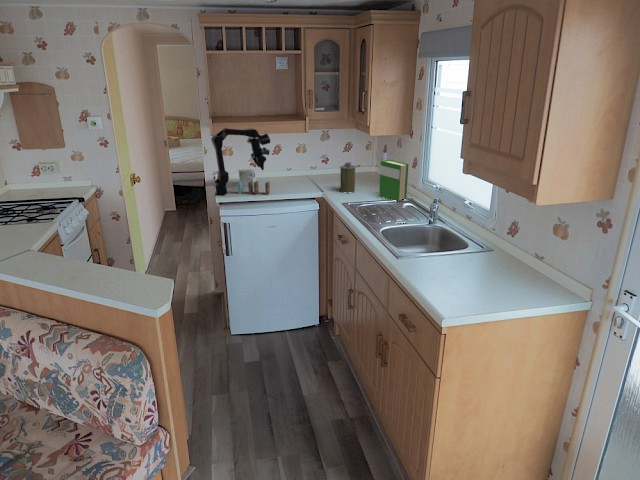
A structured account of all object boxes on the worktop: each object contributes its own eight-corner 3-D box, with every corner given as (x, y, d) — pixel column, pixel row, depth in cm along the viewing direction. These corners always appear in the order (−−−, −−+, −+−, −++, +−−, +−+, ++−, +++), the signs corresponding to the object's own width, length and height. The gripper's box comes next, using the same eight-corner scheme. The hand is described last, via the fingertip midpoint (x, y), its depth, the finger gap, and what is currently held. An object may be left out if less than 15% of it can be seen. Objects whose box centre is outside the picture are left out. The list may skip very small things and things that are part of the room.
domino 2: (254, 194, 315) (253, 183, 312) (256, 192, 320) (255, 181, 317) (256, 194, 315) (256, 183, 312) (258, 192, 320) (258, 181, 317)
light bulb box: (256, 183, 343) (255, 169, 339) (253, 185, 337) (253, 171, 333) (242, 183, 344) (241, 169, 340) (239, 185, 338) (238, 171, 334)
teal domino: (238, 193, 317) (237, 182, 314) (240, 191, 322) (239, 180, 319) (240, 193, 317) (239, 182, 314) (242, 192, 321) (242, 180, 318)
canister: (344, 188, 328) (344, 160, 321) (357, 190, 323) (358, 162, 316) (337, 192, 319) (337, 163, 312) (350, 194, 314) (350, 165, 307)
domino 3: (265, 194, 314) (265, 183, 311) (267, 192, 319) (267, 181, 316) (268, 195, 314) (267, 183, 311) (269, 193, 318) (269, 181, 316)
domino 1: (248, 194, 316) (248, 182, 313) (250, 192, 320) (250, 181, 318) (251, 194, 316) (250, 182, 313) (253, 192, 320) (252, 181, 317)
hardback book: (406, 200, 299) (408, 163, 291) (397, 202, 295) (400, 165, 287) (387, 194, 313) (388, 159, 304) (379, 196, 309) (380, 160, 300)
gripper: (270, 146, 311) (275, 168, 318) (263, 141, 327) (268, 162, 334) (255, 150, 308) (260, 172, 315) (248, 145, 324) (253, 166, 331)
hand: (261, 168), depth 324 cm, fingers open, 9 cm apart
